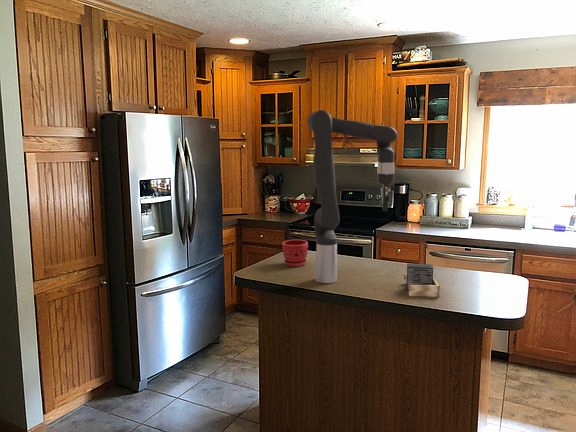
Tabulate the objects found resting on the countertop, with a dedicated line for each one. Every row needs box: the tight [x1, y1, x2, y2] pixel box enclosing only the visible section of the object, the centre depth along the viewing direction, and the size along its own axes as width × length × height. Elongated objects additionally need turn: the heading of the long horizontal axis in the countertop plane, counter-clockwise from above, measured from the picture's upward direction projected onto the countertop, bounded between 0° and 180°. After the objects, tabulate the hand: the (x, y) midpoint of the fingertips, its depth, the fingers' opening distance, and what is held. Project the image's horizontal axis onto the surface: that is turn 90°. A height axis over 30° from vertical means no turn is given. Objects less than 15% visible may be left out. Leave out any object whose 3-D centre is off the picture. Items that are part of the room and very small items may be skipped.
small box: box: [406, 263, 434, 292], centre depth 196 cm, size 11×6×10 cm, turn 77°
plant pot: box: [281, 239, 309, 267], centre depth 239 cm, size 13×13×12 cm
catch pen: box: [403, 273, 441, 298], centre depth 196 cm, size 12×17×4 cm
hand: (384, 210), depth 211 cm, fingers closed
